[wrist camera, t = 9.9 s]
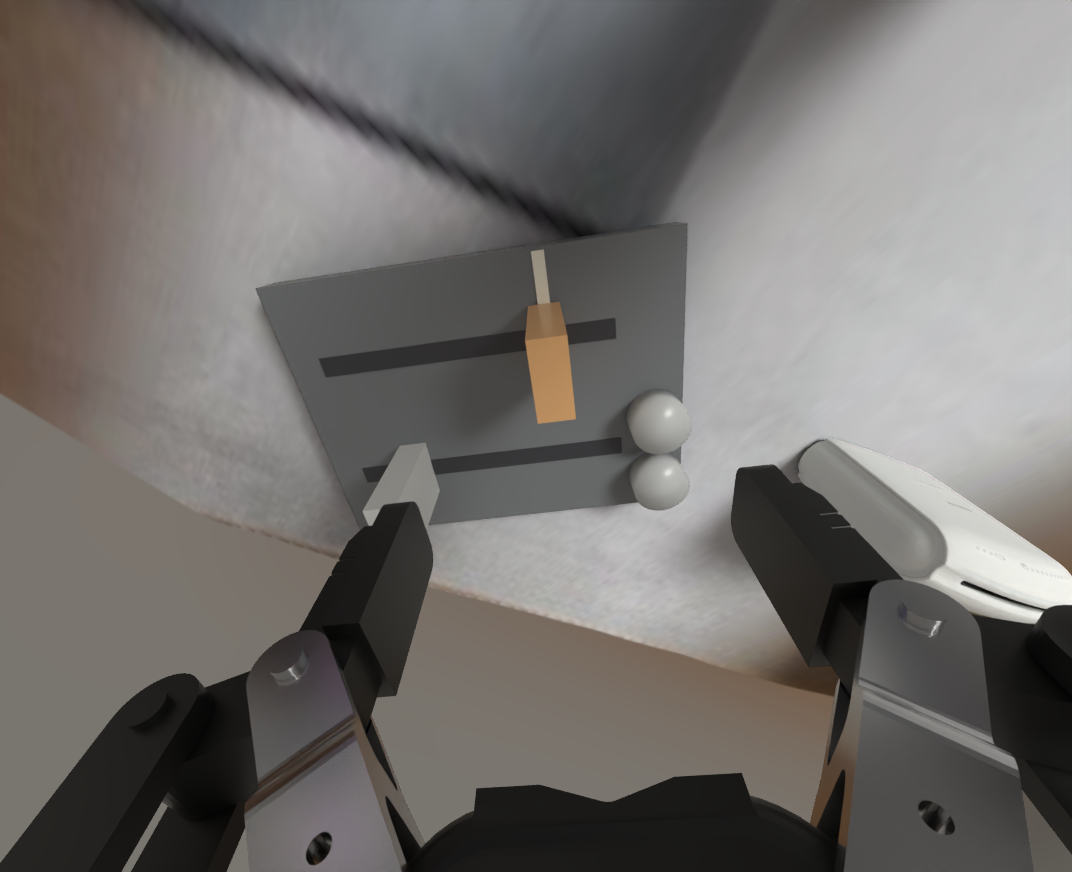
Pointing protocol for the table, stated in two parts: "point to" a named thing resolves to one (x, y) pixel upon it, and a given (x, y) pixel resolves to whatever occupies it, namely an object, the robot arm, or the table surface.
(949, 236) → the table surface
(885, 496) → the photo printer
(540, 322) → the fader cap
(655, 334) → the console
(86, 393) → the table surface
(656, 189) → the table surface
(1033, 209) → the table surface
